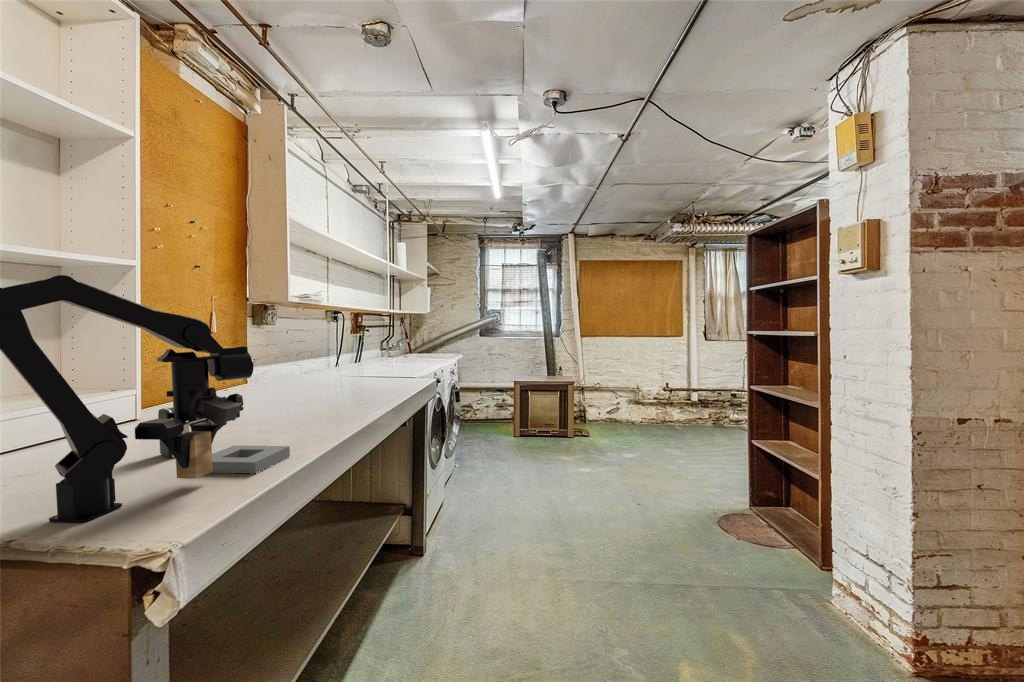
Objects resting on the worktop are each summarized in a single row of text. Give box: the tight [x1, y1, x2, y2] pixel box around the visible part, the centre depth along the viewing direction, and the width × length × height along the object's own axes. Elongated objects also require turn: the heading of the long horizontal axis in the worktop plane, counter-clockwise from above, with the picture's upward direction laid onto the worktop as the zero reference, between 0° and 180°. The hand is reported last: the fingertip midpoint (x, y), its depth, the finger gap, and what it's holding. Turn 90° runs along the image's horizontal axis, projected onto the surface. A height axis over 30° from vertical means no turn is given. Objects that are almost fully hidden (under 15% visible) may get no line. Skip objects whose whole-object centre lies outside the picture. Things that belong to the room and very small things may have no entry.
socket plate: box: [209, 445, 291, 474], centre depth 98 cm, size 12×14×2 cm
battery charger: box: [157, 407, 175, 459], centre depth 106 cm, size 7×4×11 cm, turn 54°
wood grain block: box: [175, 430, 213, 480], centre depth 85 cm, size 4×4×8 cm
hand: (194, 464), depth 85 cm, fingers closed on wood grain block, 4 cm apart
